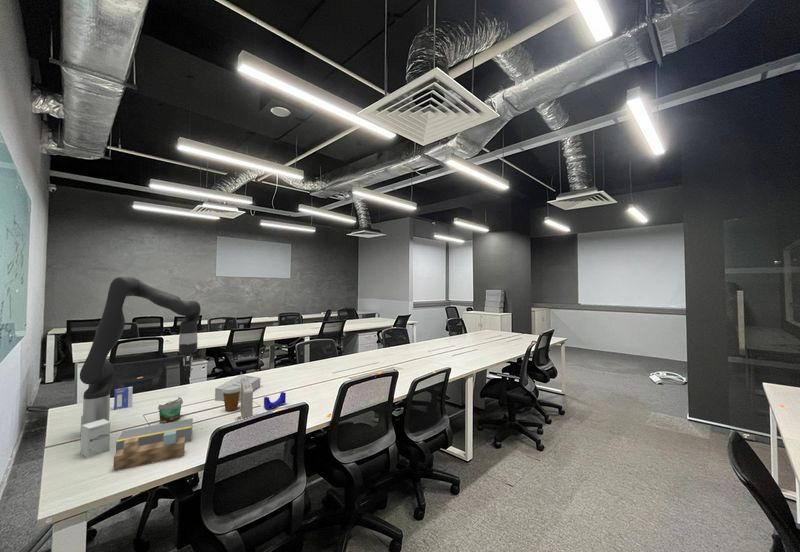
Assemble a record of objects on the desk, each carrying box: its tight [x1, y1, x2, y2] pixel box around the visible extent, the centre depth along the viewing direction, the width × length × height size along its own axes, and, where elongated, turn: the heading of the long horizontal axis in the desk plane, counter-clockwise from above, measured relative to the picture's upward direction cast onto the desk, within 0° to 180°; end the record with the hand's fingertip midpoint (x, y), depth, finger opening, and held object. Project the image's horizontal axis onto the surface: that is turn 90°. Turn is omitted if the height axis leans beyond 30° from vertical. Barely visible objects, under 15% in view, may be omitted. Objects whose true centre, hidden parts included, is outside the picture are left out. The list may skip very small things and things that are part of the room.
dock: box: [115, 418, 194, 453], centre depth 143 cm, size 26×12×6 cm, turn 121°
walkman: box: [113, 386, 134, 411], centre depth 182 cm, size 8×3×12 cm, turn 134°
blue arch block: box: [263, 391, 287, 410], centre depth 188 cm, size 12×4×6 cm, turn 141°
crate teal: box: [163, 430, 176, 446], centre depth 131 cm, size 4×4×4 cm
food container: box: [157, 396, 184, 424], centre depth 166 cm, size 12×6×10 cm, turn 168°
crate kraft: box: [123, 437, 139, 454], centre depth 125 cm, size 4×4×4 cm
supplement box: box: [79, 419, 111, 459], centre depth 134 cm, size 7×7×13 cm
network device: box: [234, 378, 254, 422], centre depth 164 cm, size 26×9×20 cm, turn 30°
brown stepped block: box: [112, 437, 186, 471], centre depth 128 cm, size 22×6×6 cm, turn 121°
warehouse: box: [214, 374, 261, 402], centre depth 211 cm, size 30×14×8 cm, turn 179°
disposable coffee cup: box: [222, 385, 241, 411], centre depth 183 cm, size 10×10×12 cm
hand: (187, 375), depth 154 cm, fingers open, 8 cm apart
